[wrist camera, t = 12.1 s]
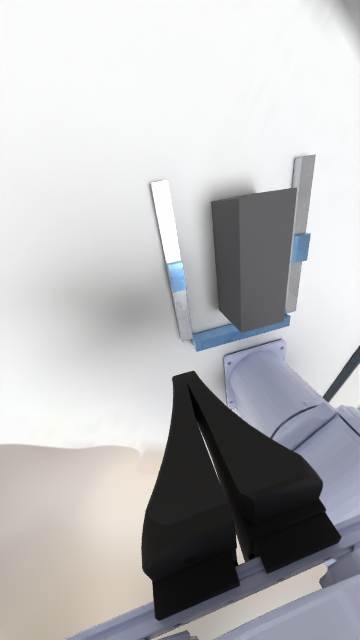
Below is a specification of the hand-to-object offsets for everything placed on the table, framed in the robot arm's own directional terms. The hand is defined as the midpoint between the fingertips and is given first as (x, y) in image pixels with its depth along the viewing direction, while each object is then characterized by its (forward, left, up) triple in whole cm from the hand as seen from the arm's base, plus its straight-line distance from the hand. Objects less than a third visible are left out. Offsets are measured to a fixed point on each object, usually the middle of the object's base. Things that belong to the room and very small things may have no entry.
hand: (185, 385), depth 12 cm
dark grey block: (+4, -8, -10) cm, 13 cm away
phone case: (-19, -29, -10) cm, 36 cm away
